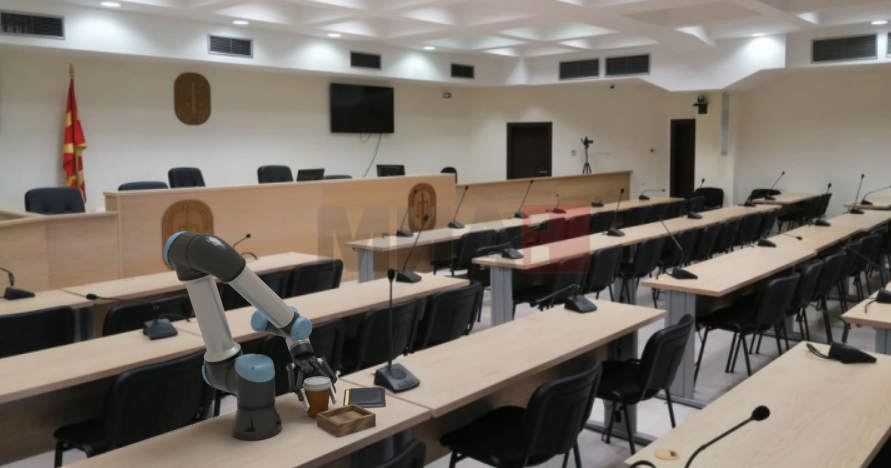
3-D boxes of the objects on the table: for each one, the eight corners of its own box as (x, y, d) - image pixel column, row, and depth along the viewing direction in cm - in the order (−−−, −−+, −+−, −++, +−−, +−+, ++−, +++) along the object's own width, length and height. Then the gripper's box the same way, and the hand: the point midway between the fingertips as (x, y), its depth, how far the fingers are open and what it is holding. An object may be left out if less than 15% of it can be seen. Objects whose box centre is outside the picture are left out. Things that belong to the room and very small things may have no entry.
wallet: (385, 404, 246) (340, 405, 244) (385, 409, 246) (340, 410, 245) (386, 384, 265) (344, 386, 264) (386, 389, 266) (344, 391, 265)
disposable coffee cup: (326, 421, 233) (325, 386, 232) (298, 419, 235) (297, 384, 234) (336, 411, 242) (335, 376, 241) (309, 409, 244) (309, 375, 243)
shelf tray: (337, 437, 221) (337, 425, 220) (316, 425, 230) (316, 413, 230) (375, 425, 230) (375, 414, 229) (353, 414, 239) (353, 403, 239)
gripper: (326, 348, 255) (348, 404, 244) (266, 359, 243) (287, 418, 232) (332, 336, 250) (355, 393, 239) (272, 347, 238) (293, 407, 227)
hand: (321, 405), depth 236 cm, fingers closed on disposable coffee cup, 9 cm apart
